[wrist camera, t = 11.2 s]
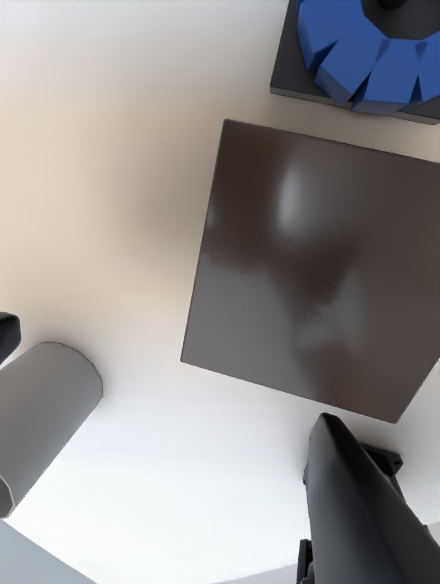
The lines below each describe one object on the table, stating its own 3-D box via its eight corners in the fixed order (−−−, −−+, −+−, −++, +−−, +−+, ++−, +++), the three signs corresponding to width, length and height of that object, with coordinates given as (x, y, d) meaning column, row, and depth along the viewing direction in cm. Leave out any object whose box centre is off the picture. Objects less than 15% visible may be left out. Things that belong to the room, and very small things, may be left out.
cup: (110, 365, 25) (18, 469, 16) (95, 423, 29) (11, 536, 20) (27, 328, 26) (-110, 411, 16) (22, 390, 29) (-95, 487, 20)
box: (421, 183, 16) (554, 186, 8) (350, 334, 20) (396, 425, 13) (245, 145, 17) (223, 117, 9) (213, 297, 21) (179, 362, 13)
